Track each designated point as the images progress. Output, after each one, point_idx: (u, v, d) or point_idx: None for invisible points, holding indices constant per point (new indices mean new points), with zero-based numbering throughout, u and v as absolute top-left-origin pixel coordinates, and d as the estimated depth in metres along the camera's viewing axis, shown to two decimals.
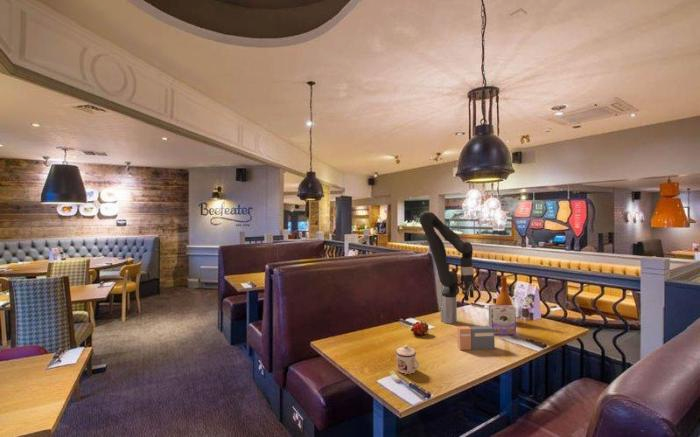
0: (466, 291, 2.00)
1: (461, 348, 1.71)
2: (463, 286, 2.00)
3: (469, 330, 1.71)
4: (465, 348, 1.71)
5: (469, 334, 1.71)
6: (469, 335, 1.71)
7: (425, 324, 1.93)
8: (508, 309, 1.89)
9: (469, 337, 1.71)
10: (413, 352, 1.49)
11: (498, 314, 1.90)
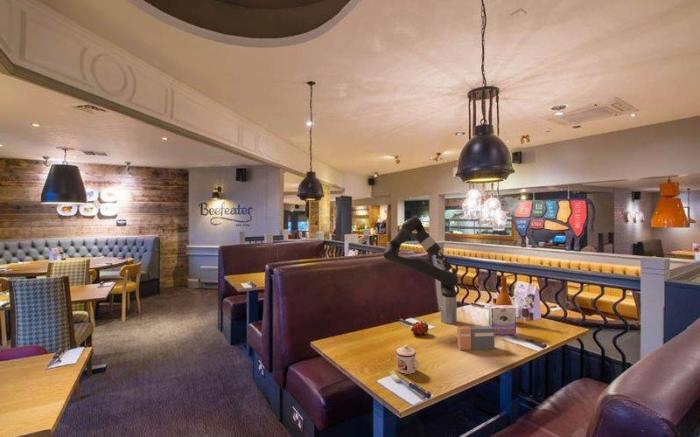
0: None
1: (461, 348, 1.71)
2: (439, 254, 1.75)
3: (469, 330, 1.71)
4: (465, 348, 1.71)
5: (469, 334, 1.71)
6: (469, 335, 1.71)
7: (425, 324, 1.93)
8: (508, 309, 1.89)
9: (469, 337, 1.71)
10: (413, 352, 1.49)
11: (498, 314, 1.90)
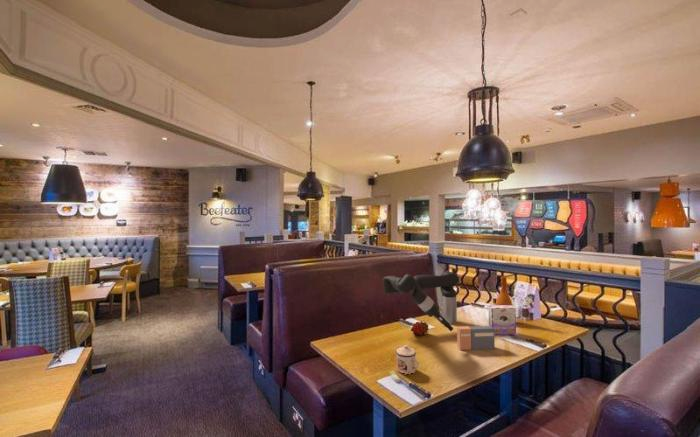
0: (446, 321, 1.66)
1: (461, 348, 1.71)
2: (440, 319, 1.65)
3: (469, 330, 1.71)
4: (465, 348, 1.71)
5: (469, 334, 1.71)
6: (469, 335, 1.71)
7: (425, 324, 1.93)
8: (508, 309, 1.89)
9: (469, 337, 1.71)
10: (413, 352, 1.49)
11: (498, 314, 1.90)
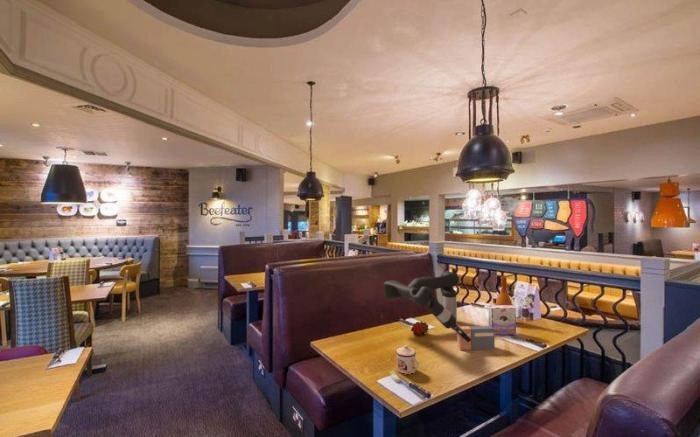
0: (464, 333, 1.68)
1: (461, 348, 1.71)
2: (460, 332, 1.66)
3: (469, 330, 1.71)
4: (465, 348, 1.71)
5: (469, 334, 1.71)
6: (469, 335, 1.71)
7: (425, 324, 1.93)
8: (508, 309, 1.89)
9: (469, 337, 1.71)
10: (413, 352, 1.49)
11: (498, 314, 1.90)
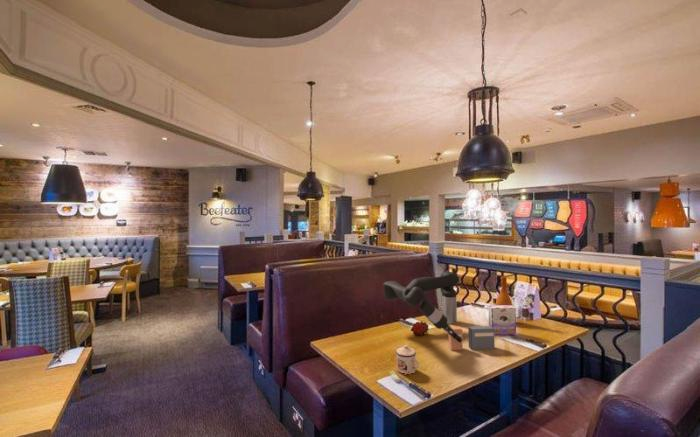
0: (455, 333, 1.68)
1: (452, 348, 1.71)
2: (451, 333, 1.66)
3: (460, 330, 1.71)
4: (456, 348, 1.71)
5: (460, 334, 1.71)
6: (460, 335, 1.71)
7: (425, 324, 1.93)
8: (508, 309, 1.89)
9: (460, 337, 1.71)
10: (413, 352, 1.49)
11: (498, 314, 1.90)
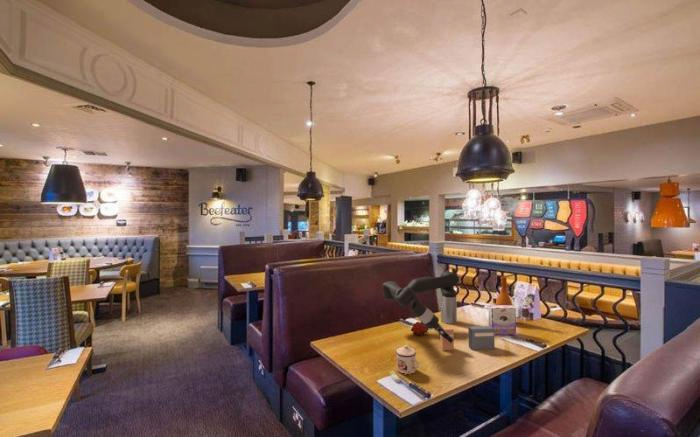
0: (446, 333, 1.68)
1: (443, 349, 1.71)
2: (442, 333, 1.66)
3: (451, 331, 1.71)
4: (447, 349, 1.71)
5: (451, 335, 1.71)
6: (451, 336, 1.71)
7: None
8: (508, 309, 1.89)
9: None
10: (413, 352, 1.49)
11: (498, 314, 1.90)
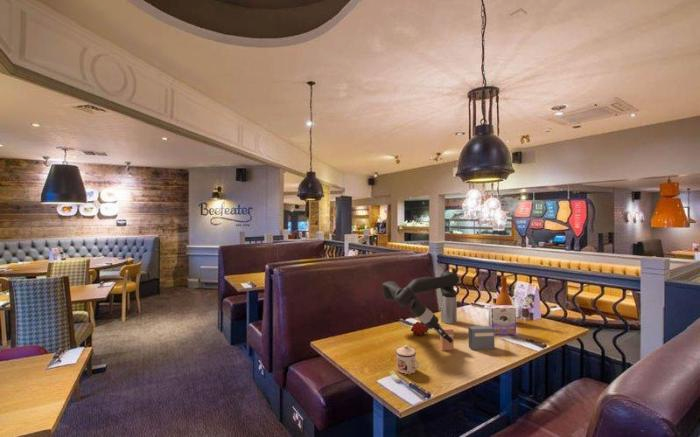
0: (446, 333, 1.66)
1: (443, 349, 1.71)
2: (440, 331, 1.66)
3: (451, 331, 1.71)
4: (447, 349, 1.71)
5: (451, 335, 1.71)
6: (451, 336, 1.71)
7: None
8: (508, 309, 1.89)
9: None
10: (413, 352, 1.49)
11: (498, 314, 1.90)
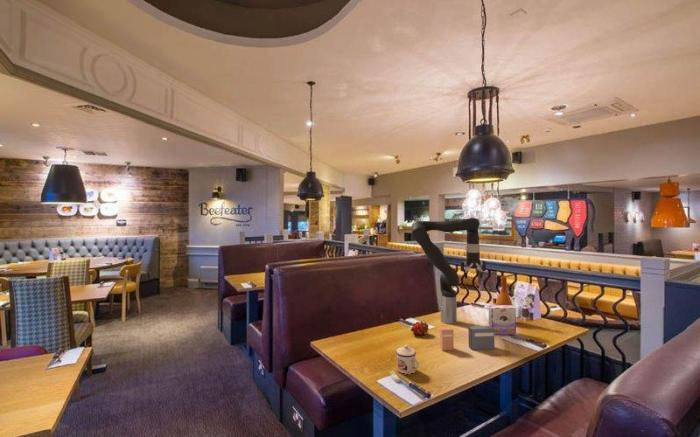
0: None
1: (443, 349, 1.71)
2: None
3: (451, 331, 1.71)
4: (447, 349, 1.71)
5: (451, 335, 1.71)
6: (451, 336, 1.71)
7: (425, 324, 1.93)
8: (508, 309, 1.89)
9: (451, 338, 1.71)
10: (413, 352, 1.49)
11: (498, 314, 1.90)
